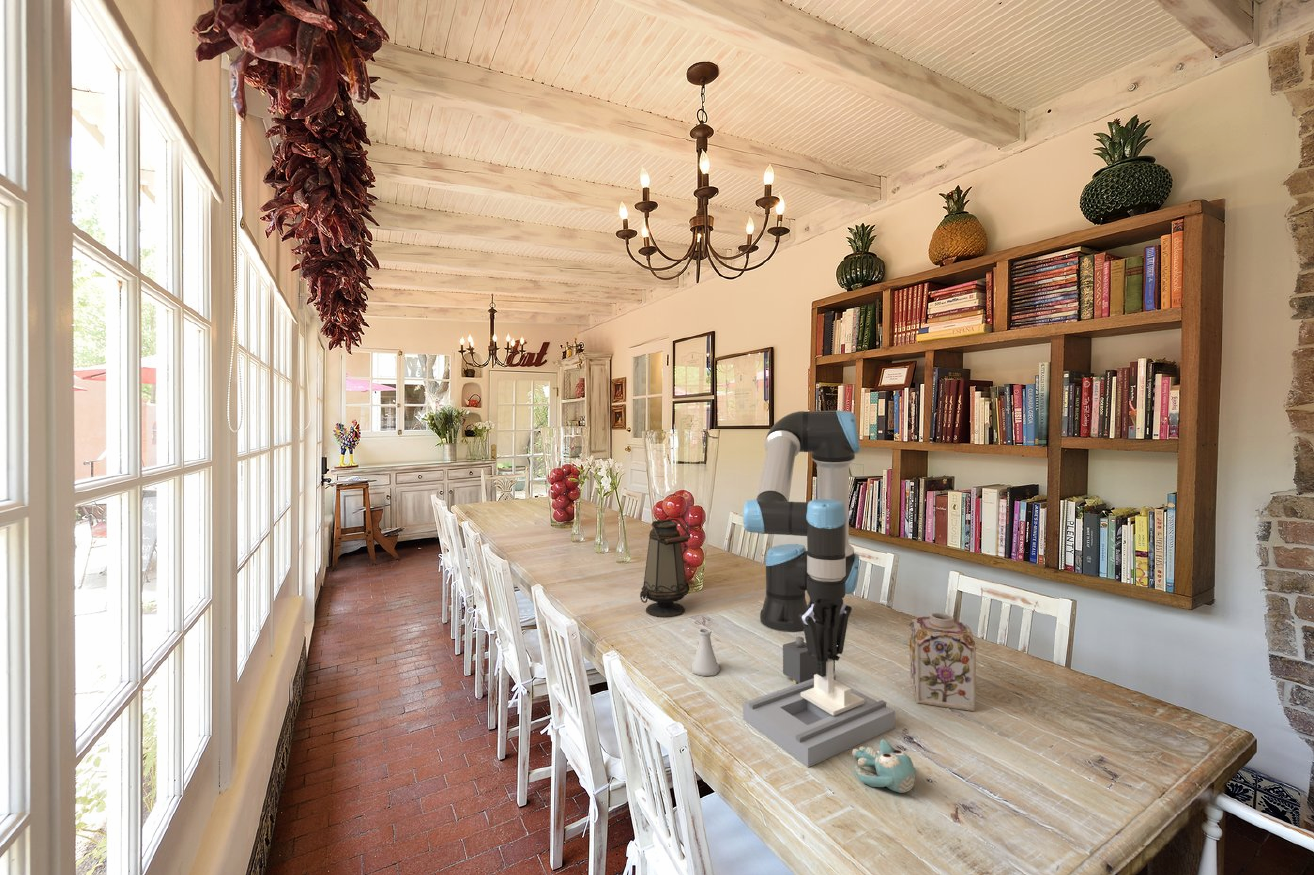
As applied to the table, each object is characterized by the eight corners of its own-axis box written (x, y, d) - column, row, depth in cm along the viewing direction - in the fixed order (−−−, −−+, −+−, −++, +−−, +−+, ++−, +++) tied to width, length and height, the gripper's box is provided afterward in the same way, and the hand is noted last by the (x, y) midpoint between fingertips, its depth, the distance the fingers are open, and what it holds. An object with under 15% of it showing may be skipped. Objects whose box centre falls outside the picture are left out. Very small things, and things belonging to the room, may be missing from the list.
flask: (718, 678, 129) (718, 637, 129) (688, 675, 130) (688, 635, 130) (721, 664, 136) (721, 625, 136) (692, 662, 138) (692, 624, 137)
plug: (799, 673, 131) (799, 631, 131) (816, 682, 126) (816, 639, 126) (782, 678, 128) (782, 636, 128) (799, 688, 124) (799, 644, 123)
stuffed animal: (875, 720, 101) (930, 742, 90) (881, 760, 100) (937, 788, 89) (831, 733, 97) (882, 758, 86) (836, 776, 96) (889, 807, 85)
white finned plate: (830, 685, 117) (830, 668, 117) (864, 703, 110) (864, 685, 110) (800, 696, 113) (800, 678, 113) (833, 715, 105) (833, 696, 105)
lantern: (673, 598, 187) (672, 512, 186) (701, 611, 174) (701, 518, 173) (628, 609, 176) (627, 518, 175) (655, 623, 164) (654, 525, 163)
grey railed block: (825, 689, 123) (825, 670, 123) (894, 727, 108) (894, 706, 108) (743, 719, 111) (743, 698, 111) (807, 767, 96) (807, 744, 95)
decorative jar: (965, 686, 124) (965, 609, 123) (977, 713, 113) (977, 628, 112) (908, 679, 128) (908, 604, 127) (914, 703, 117) (914, 621, 116)
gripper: (834, 567, 116) (833, 674, 117) (789, 576, 110) (789, 690, 111) (862, 575, 110) (862, 689, 110) (816, 586, 103) (816, 707, 104)
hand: (825, 689), depth 110 cm, fingers closed
